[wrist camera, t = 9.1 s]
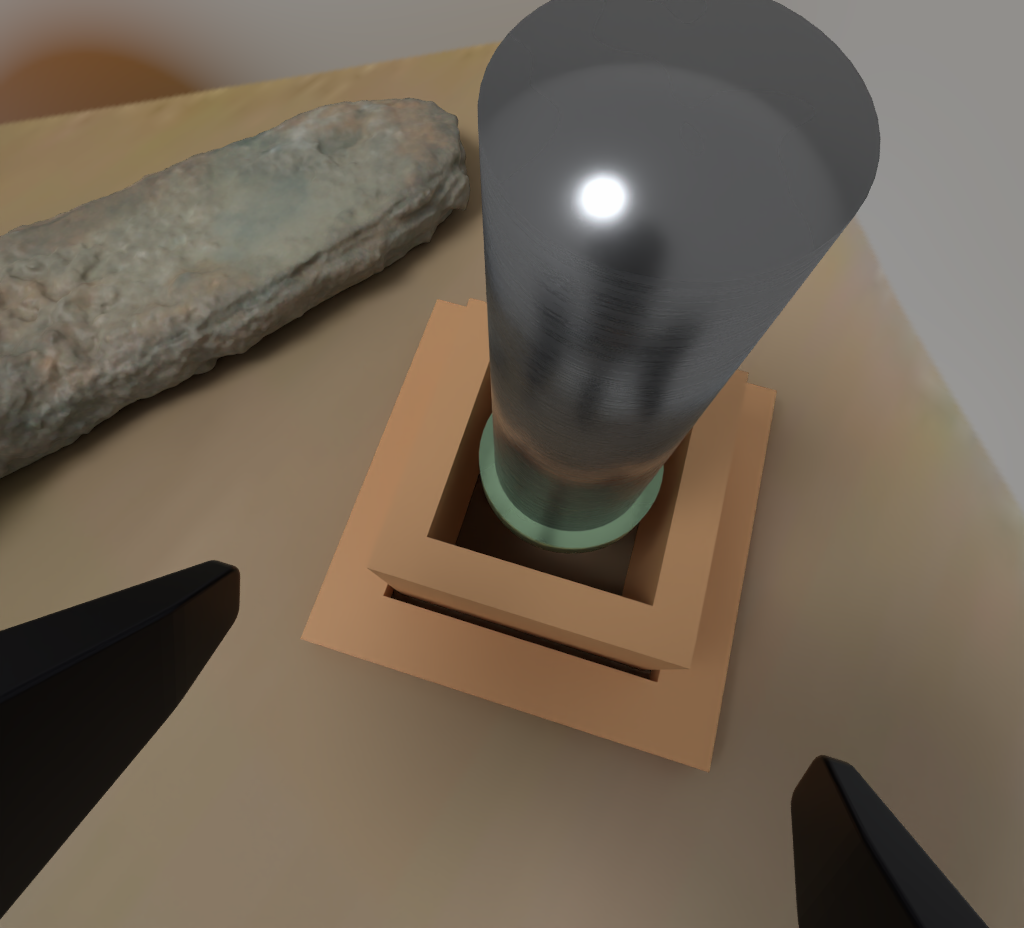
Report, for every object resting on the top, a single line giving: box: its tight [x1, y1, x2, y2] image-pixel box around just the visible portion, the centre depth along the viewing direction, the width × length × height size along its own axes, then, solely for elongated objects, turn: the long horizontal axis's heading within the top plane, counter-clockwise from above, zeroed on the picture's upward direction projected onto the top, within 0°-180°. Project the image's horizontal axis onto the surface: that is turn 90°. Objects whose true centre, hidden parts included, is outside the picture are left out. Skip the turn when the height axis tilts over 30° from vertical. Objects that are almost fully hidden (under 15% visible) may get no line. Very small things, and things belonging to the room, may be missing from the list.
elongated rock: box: [0, 98, 470, 478], centre depth 22 cm, size 35×5×10 cm
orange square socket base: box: [301, 298, 777, 772], centre depth 19 cm, size 13×13×6 cm
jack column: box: [478, 0, 880, 553], centre depth 12 cm, size 5×5×12 cm
